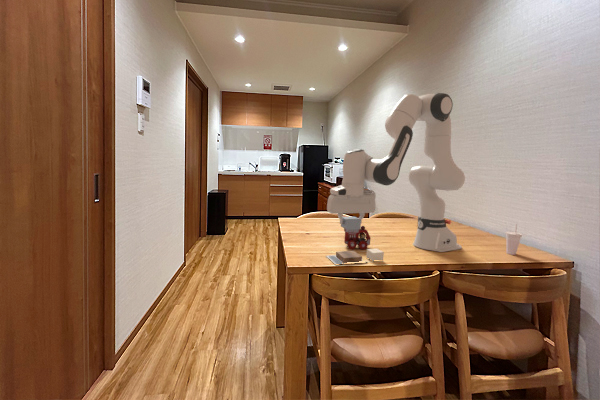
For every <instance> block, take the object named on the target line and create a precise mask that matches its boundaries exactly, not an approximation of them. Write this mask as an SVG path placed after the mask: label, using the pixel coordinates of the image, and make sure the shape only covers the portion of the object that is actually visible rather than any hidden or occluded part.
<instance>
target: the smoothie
mask: <svg viewBox="0 0 600 400" xmlns="http://www.w3.org/2000/svg"><path fill="white" fill-rule="evenodd" d="M517 227H518V224H515V228H514V231H505V235H506V236H505V240H506V243H505V244H506V245H505V246H506V247H505V248H506V254H508V255H511V256H512V255H513V256H515V255H517V252H518V248H519V245H520V241H521V238H522V237H523V234H522V233H520V232H517Z"/></svg>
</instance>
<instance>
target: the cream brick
mask: <svg viewBox="0 0 600 400" xmlns="http://www.w3.org/2000/svg"><path fill="white" fill-rule="evenodd" d="M384 254H385V252H384V251H383V250H380V249H379V248H366V255H365V257H367V258H369V259H371V260H372V261H374V260H383V261H384V257H385V255H384ZM367 258H366V259H367ZM369 259H368V260H369ZM372 261H371V262H372Z"/></svg>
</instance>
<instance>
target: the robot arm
mask: <svg viewBox="0 0 600 400" xmlns="http://www.w3.org/2000/svg"><path fill="white" fill-rule="evenodd" d="M453 105H454V103H453V100H452V98H451V96H450V94H448V93H444V92H438V93H426V94H425V93H424V94H422V95H416V94H413V93H407V94H404V95H403V96H402V97H401V98H400V99H399V101H398V102H397V103H396V104H395V106H393V108H392V109H391V111H390V113H389V114H388V116H387V118H386V120H385V123H384V128H385V131H386V133H387V134H388V136H390V137H391V138H392V139H394V141H393V143H392V145H391V148H390V150H389V153H388V154H387V156H385V157H384V158H374V157H373V156H371V155H369V154H368V153H366V152H365V150H364V149H362V148H361V149H359V148H357V149H350V150H347V151H346V152H345V154H344V157H343V162H342V176H343V177H342V181H341V184H340V185H338V186H334V187H331V188H330V189H329V192H330V195H329V196H328V197H327V202H326V203H327V204H326V210H327V212H328V213H329V214H331V215H332V214H334V215H335V214H337V217H338V219H339V224H340V225H341V224H345V220H344V219H342V217H344V216H343V215H344V214H359V217H358V218H359V219H361V224H362V221H363V219H364V217H365V215H366V214H369V213H370V214H371V213H375V211H376V195H377V194H376V192H375V191H373V190H372V189H365V181H366V182H371V183H375V184H378V185H382V186H391V185H393V184H394V183H395V182H396V181H397V180H398V177H399V175H400V170H401V167H402V164H403V161H404V159H405V158H406V154H407V152H408V150H409V147H410V145H411V144H412V143H411V142H412V139H413V136H414V132H413V128H414V126H415V124H416V123H417V122H418V121H419V122H425V129H424V130H425V131H424V142H423V143H424V145H423V147H424V148H423V151H424V154H425V156H427V157H428V158H429V159H431V160H432V161H433V164H434V165H428V164H427V165H426V164H425V165H424V164H423V165H415V166H413V167H412V168H411V169H410V170H409V173H408V181H409V184H411V185H412V186H413V188H414V189H415V191H416V192H417V194H418V199H419V214H418V217H417V230H416V234H415V238H414V240H413V242H412V245H413V246H414V247H417V248H419V249H422V250H426V251H427V250H428V251H434V252H439V253H444V252H450V251H457V250H462V249H463V248H462V245H460V244H458V239H457V235H456V234H455V232H453V231H452V230H451V229H450V228H448V226H447V224H448V225H451V223H452V220H451V219H445V212H446V211H445V210H446V202H445V201H444V199H442V198H441V197H440V196H438V194H437V192H436V190H437V191H438V190H439V191H447V192H449V191H459V190H460V189H461V188H462V187H463V185H464V184H465V181H466V180H465V179H466V177H465V173H464V171H462V169H461V168H459V166H458V165H457V164H456V163H455V161H454V159H453V157H452V152H451V150H452V148H451V147H452V146H451V144H452V143H451V140H452V122H451V116H450V114H451V112H452V110H453Z"/></svg>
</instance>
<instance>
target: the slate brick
mask: <svg viewBox="0 0 600 400" xmlns="http://www.w3.org/2000/svg"><path fill="white" fill-rule="evenodd" d="M341 217H342V219H344V220H345V224H340V227H341V228H343V230H344V229H346V230H356V229H361V226H362V223H361V219H359V217H357V216H341Z"/></svg>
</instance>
